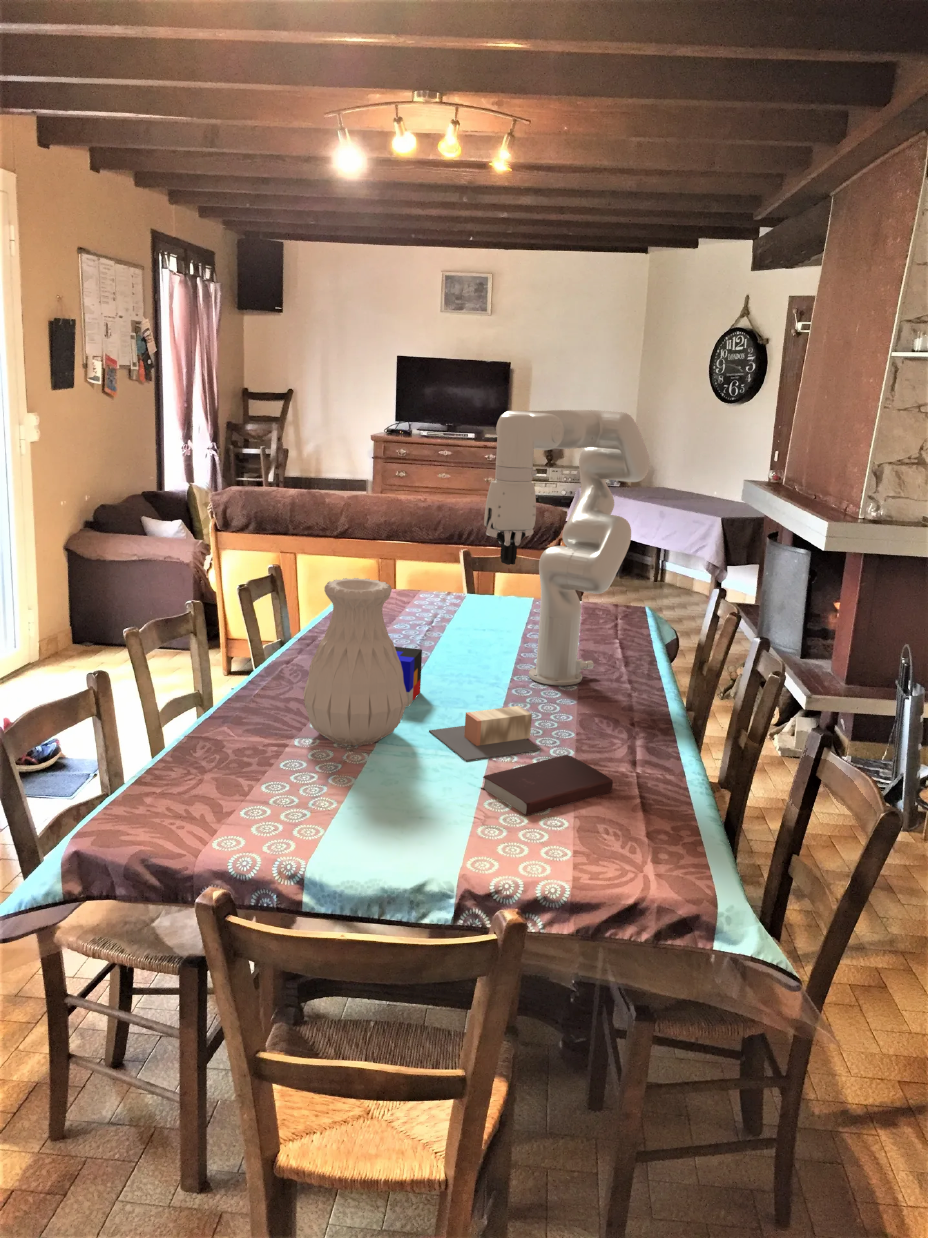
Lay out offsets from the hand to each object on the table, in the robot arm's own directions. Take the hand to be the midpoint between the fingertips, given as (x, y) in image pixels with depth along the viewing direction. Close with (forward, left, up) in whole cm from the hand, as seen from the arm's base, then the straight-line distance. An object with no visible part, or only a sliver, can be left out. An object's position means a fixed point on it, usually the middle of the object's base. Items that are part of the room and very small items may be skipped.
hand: (508, 563), depth 203 cm
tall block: (+4, +18, -28) cm, 34 cm away
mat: (+13, +18, -31) cm, 38 cm away
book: (+14, +42, -32) cm, 55 cm away
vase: (+36, +7, -31) cm, 48 cm away
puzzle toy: (+20, -12, -31) cm, 39 cm away
